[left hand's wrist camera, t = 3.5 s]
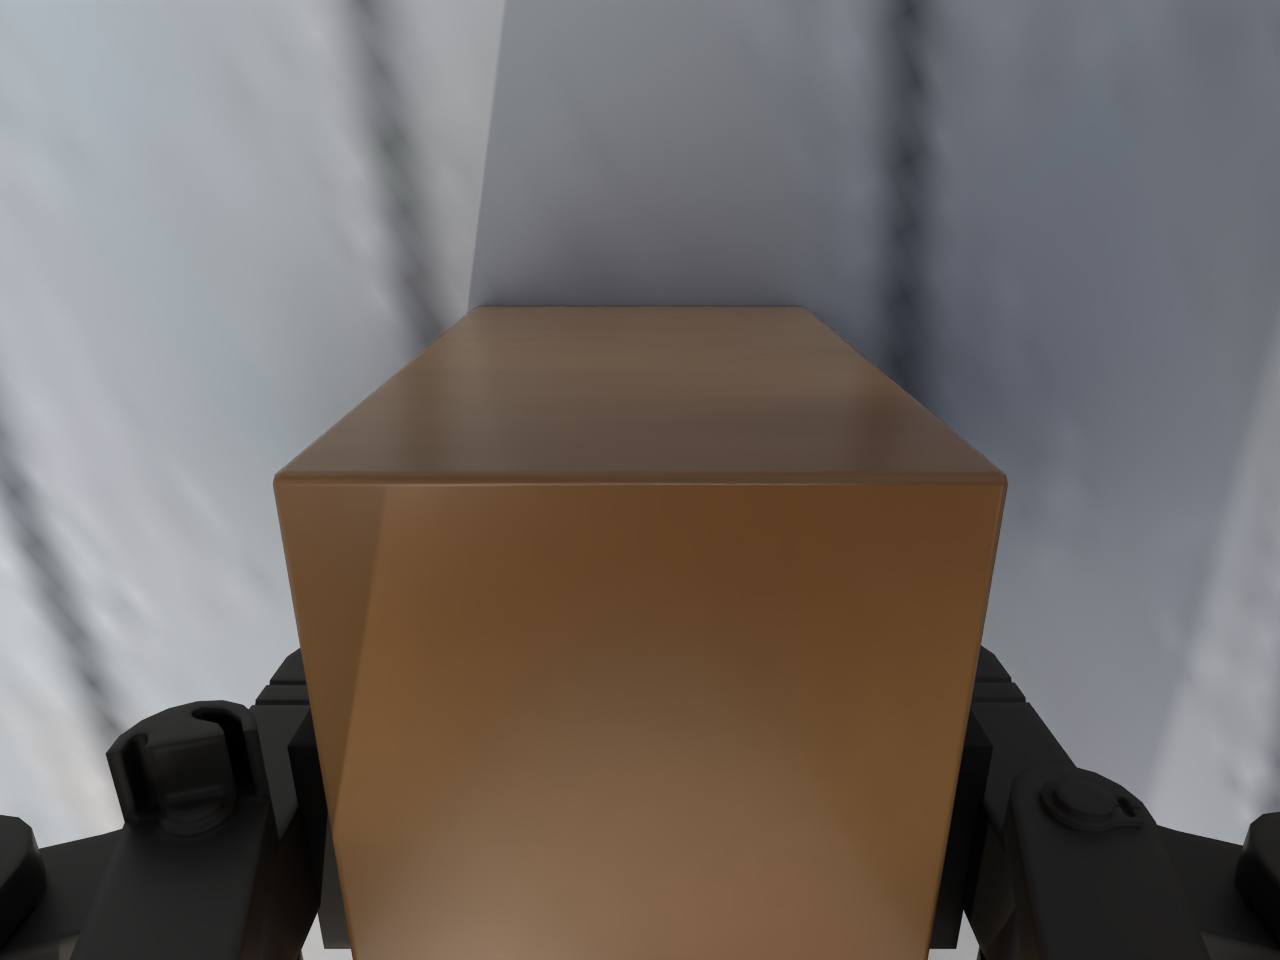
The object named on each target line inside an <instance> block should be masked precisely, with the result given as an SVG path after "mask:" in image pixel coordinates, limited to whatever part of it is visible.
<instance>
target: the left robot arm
mask: <svg viewBox="0 0 1280 960" xmlns="http://www.w3.org/2000/svg"><path fill="white" fill-rule="evenodd" d="M106 756H107V760H108V764H109V767H110V771H111V774H112V778H113V782H114V785H115V789H116V792H117V796H118V799H119V803H120V807H121V810H122V814H123V817H124V821H125V823H124V826H123V828H122V829H120V830H116V831H113V832H110V833H106V834H103V835H98V836H94V837H89V838H85V839H80V840H76V841H72V842H67V843H63V844H58V845H54V846H49V847H45V848H40V849H38V846H37V843H36V840H35V837H34V834H33V831H32V828H31V827H30V826H29V825H28V824H26V823H25V822H24V821H23V820H21V819H20V818H19V817H12V816H4V815H0V960H303V956H302V951H301V949H302V947H303V944H304V942H305V940H306V938H307V935H308V933H309V931H310V928H311V926H312V924H313V921H314V919H315V917H316V914H317V912H318V917H319V922H320V928H321V933H322V939H323V944H324V949H351V945H350V939H349V933H348V927H347V921H346V915H345V909H344V903H343V897H342V891H341V886H340V880H339V874H338V868H337V862H336V856H335V850H334V844H333V838H332V832H331V826H330V820H329V814H328V808H327V802H326V796H325V790H324V785H323V779H322V773H321V767H320V761H319V755H318V749H317V743H316V737H315V731H314V725H313V719H312V713H311V707H310V701H309V695H308V689H307V683H306V678H305V672H304V666H303V660H302V654H301V648H299V649H298V650H296V651H295V652H293V653H292V654H290V655H289V656H288V657H287V658H286V659H285V660H284V662H283V663H282V664H281V666H280V667H279V669H278V670H277V671H276V673H275V674H274V675H273V677H272V678H271V680H270V685H266V687H265V688H264V689H263V691H262V692H261V693H260V695H259V696H258V698H257V699H256V703H255V705H252V706H251V707H250V709H249V710H248V709H247V708H246V707H245V706H244V705H242V704H237V703H233V702H228V701H224V700H216V701H197V702H193V703H189V704H185V705H181V706H176V707H172V708H169V709H166V710H164V711H162V712H160V713H157V714H155V715H153V716H151V717H148V718H146V719H144V720H142V721H140V722H139V723H137V724H136V725H135V726H133V727H132V728H130V729H129V730H127V731H126V732H125V733H123V734H122V735H120V736H119V737H118V739H117V740H116V741H115V742H114V744H113V745H112V746H111V747H110V749H109V750H108V751H107V753H106ZM963 909H964V912H965V914H966V916H967V918H968V921H969V923H970V925H971V928H972V930H973V932H974V934H975V937H976V939H977V941H978V944H979V951H978V956H977V960H1280V812H1275V813H1267V814H1263V815H1261V816H1260V817H1259V818H1257V819H1256V820H1255V821H1254V822H1252V823H1251V824H1250V827H1249V830H1248V833H1247V836H1246V839H1245V842H1244V845H1243V846H1242V845H1238V844H1233V843H1229V842H1224V841H1220V840H1215V839H1211V838H1207V837H1202V836H1198V835H1193V834H1189V833H1184V832H1180V831H1176V830H1173V829H1169V828H1166V827H1162V826H1159V825H1157V824H1156V822H1155V820H1154V819H1153V817H1152V816H1151V814H1150V813H1149V811H1148V810H1147V809H1146V807H1145V806H1144V804H1143V803H1142V802H1141V801H1140V800H1139V799H1137V798H1136V797H1135V796H1134V795H1132V794H1131V793H1130V792H1129V791H1127V790H1126V789H1125V788H1124V787H1122V786H1121V785H1119V784H1117V783H1115V782H1113V781H1111V780H1109V779H1107V778H1105V777H1103V776H1101V775H1099V774H1097V773H1095V772H1091V771H1088V770H1084V769H1080V768H1077V767H1076V766H1075V765H1074V763H1073V762H1072V760H1071V759H1070V758H1069V756H1068V755H1067V754H1066V752H1065V751H1064V750H1063V748H1062V747H1061V745H1060V744H1059V743H1058V741H1057V740H1056V739H1055V737H1054V736H1053V734H1052V733H1051V732H1050V730H1049V729H1048V728H1047V726H1046V725H1045V723H1044V722H1043V721H1042V719H1041V718H1040V717H1039V715H1038V714H1037V713H1036V711H1035V710H1034V708H1033V707H1032V706H1031V704H1030V703H1029V702H1026V700H1025V696H1024V695H1023V693H1022V692H1021V691H1020V689H1019V688H1018V686H1017V685H1016V684H1015V683H1012V682H1011V677H1010V676H1009V674H1008V673H1007V671H1006V670H1005V669H1004V667H1003V666H1002V665H1001V663H1000V662H999V660H998V659H997V658H996V656H995V655H994V654H993V653H991V652H990V651H988V650H987V649H986V648H984V647H983V646H980V652H979V658H978V664H977V670H976V675H975V681H974V687H973V693H972V699H971V705H970V711H969V717H968V723H967V729H966V735H965V741H964V747H963V752H962V758H961V764H960V770H959V776H958V782H957V788H956V794H955V800H954V806H953V812H952V818H951V824H950V830H949V835H948V841H947V847H946V853H945V859H944V865H943V871H942V877H941V883H940V889H939V895H938V901H937V907H936V913H935V918H934V924H933V930H932V936H931V942H930V948H929V949H956V947H957V941H958V936H959V931H960V925H961V920H962V914H963Z"/></svg>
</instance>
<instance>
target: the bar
mask: <svg viewBox="0 0 1280 960" xmlns="http://www.w3.org/2000/svg"><path fill="white" fill-rule="evenodd" d="M1007 486H1008V482H1007V478H1006V475H1005V474H1004V473H1003V472H1002V471H1001V470H1000V469H998V468H997V467H996V466H995V465H994V464H992V463H991V462H990V461H989V460H988V459H986V458H985V457H984V456H983V455H982V454H980V453H979V452H978V451H977V450H976V449H974V448H973V447H972V446H971V445H970V444H968V443H967V442H966V441H965V440H964V439H962V438H961V437H960V436H959V435H958V434H956V433H955V432H954V431H953V430H952V429H950V428H949V427H948V426H947V425H946V424H944V423H943V422H942V421H941V420H940V419H938V418H937V417H936V416H935V415H934V414H932V413H931V412H930V411H929V410H928V409H926V408H925V407H924V406H923V405H922V404H920V403H919V402H918V401H917V400H916V399H914V398H913V397H912V396H911V395H909V394H908V393H907V392H906V391H905V390H903V389H902V388H901V387H900V386H899V385H897V384H896V383H895V382H894V381H893V380H891V379H890V378H889V377H888V376H887V375H885V374H884V373H883V372H882V371H881V370H879V369H878V368H877V367H876V366H875V365H873V364H872V363H871V362H870V361H869V360H867V359H866V358H865V357H864V356H863V355H861V354H860V353H859V352H858V351H857V350H855V349H854V348H853V347H852V346H851V345H849V344H848V343H847V342H846V341H845V340H843V339H842V338H841V337H840V336H839V335H837V334H836V333H835V332H834V331H833V330H831V329H830V328H829V327H828V326H827V325H825V324H824V323H823V322H822V321H821V320H819V319H818V318H817V317H816V316H815V315H813V314H812V313H811V312H810V311H809V310H807V309H806V308H804V307H802V306H478V307H476V308H474V309H473V310H472V311H471V312H469V313H468V314H467V315H466V316H465V317H463V318H462V319H461V320H460V321H459V322H457V323H456V324H455V325H454V326H453V327H451V328H450V329H449V330H448V331H447V332H445V333H444V334H443V335H442V336H441V337H439V338H438V339H437V340H436V341H435V342H433V343H432V344H431V345H430V346H429V347H427V348H426V349H425V350H424V351H423V352H421V353H420V354H419V355H418V356H417V357H415V358H414V359H413V360H412V361H411V362H409V363H408V364H407V365H406V366H405V367H403V368H402V369H401V370H400V371H399V372H397V373H396V374H395V375H394V376H393V377H391V378H390V379H389V380H388V381H387V382H385V383H384V384H383V385H382V386H381V387H379V388H378V389H377V390H376V391H375V392H373V393H372V394H371V395H370V396H369V397H367V398H366V399H365V400H364V401H363V402H361V403H360V404H359V405H358V406H357V407H355V408H354V409H353V410H352V411H351V412H349V413H348V414H347V415H346V416H345V417H343V418H342V419H341V420H340V421H339V422H337V423H336V424H335V425H334V426H333V427H331V428H330V429H329V430H328V431H327V432H325V433H324V434H323V435H322V436H321V437H319V438H318V439H317V440H316V441H315V442H313V443H312V444H311V445H310V446H309V447H307V448H306V449H305V450H304V451H303V452H301V453H300V454H299V455H298V456H297V457H295V458H294V459H293V460H292V461H291V462H290V463H288V464H287V465H286V466H285V467H284V468H282V469H281V470H280V471H279V472H278V473H276V474H275V477H274V481H273V487H274V493H275V499H276V505H277V511H278V517H279V523H280V529H281V535H282V541H283V547H284V553H285V559H286V565H287V571H288V577H289V582H290V588H291V594H292V600H293V606H294V612H295V618H296V624H297V630H298V636H299V642H300V648H301V654H302V660H303V666H304V672H305V678H306V683H307V689H308V695H309V701H310V707H311V713H312V719H313V725H314V731H315V737H316V743H317V749H318V755H319V761H320V767H321V773H322V779H323V785H324V790H325V796H326V802H327V808H328V814H329V820H330V826H331V832H332V838H333V844H334V850H335V856H336V862H337V868H338V874H339V880H340V886H341V891H342V897H343V903H344V909H345V915H346V921H347V927H348V933H349V939H350V945H351V951H352V957H353V960H928V954H929V948H930V942H931V936H932V930H933V924H934V918H935V913H936V907H937V901H938V895H939V889H940V883H941V877H942V871H943V865H944V859H945V853H946V847H947V841H948V835H949V830H950V824H951V818H952V812H953V806H954V800H955V794H956V788H957V782H958V776H959V770H960V764H961V758H962V752H963V747H964V741H965V735H966V729H967V723H968V717H969V711H970V705H971V699H972V693H973V687H974V681H975V675H976V670H977V664H978V658H979V652H980V646H981V640H982V634H983V628H984V622H985V616H986V610H987V604H988V598H989V592H990V587H991V581H992V575H993V569H994V563H995V557H996V551H997V545H998V539H999V533H1000V527H1001V521H1002V515H1003V509H1004V504H1005V498H1006V492H1007Z"/></svg>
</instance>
